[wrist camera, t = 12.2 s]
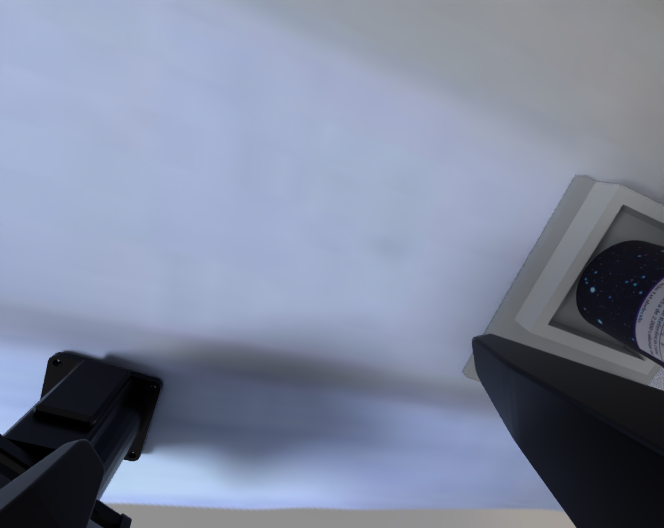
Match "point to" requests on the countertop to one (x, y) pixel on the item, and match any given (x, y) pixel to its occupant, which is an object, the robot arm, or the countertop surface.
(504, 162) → the countertop surface
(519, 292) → the socket plate
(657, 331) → the beverage can
